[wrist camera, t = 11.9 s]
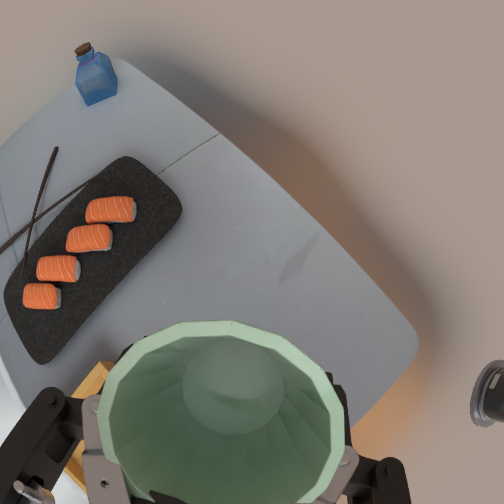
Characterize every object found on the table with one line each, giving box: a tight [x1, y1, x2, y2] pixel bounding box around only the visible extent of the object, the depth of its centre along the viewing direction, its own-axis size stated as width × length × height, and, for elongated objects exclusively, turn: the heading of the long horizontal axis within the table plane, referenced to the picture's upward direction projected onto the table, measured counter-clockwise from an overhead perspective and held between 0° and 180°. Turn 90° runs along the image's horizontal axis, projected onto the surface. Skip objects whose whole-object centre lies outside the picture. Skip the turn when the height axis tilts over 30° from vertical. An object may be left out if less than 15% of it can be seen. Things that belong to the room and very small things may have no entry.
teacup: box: [97, 320, 345, 504], centre depth 10 cm, size 7×7×10 cm
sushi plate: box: [0, 147, 182, 365], centre depth 31 cm, size 29×30×4 cm
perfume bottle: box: [75, 42, 117, 106], centre depth 36 cm, size 6×6×12 cm
